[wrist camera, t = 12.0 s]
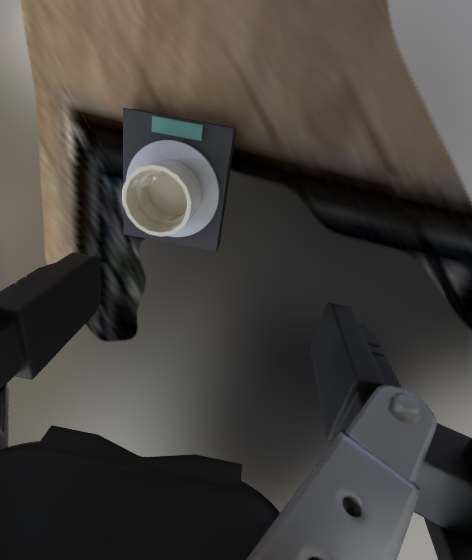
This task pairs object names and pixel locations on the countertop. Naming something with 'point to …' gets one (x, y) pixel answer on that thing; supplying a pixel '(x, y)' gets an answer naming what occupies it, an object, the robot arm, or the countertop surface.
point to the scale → (193, 154)
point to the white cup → (161, 197)
